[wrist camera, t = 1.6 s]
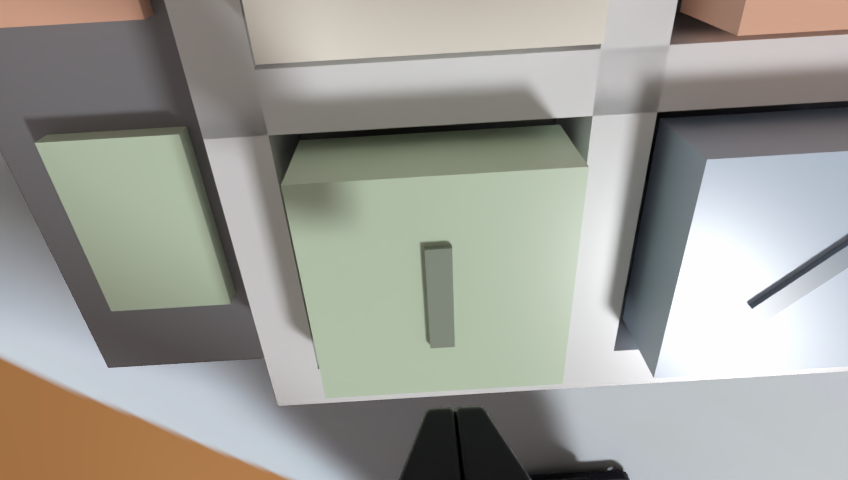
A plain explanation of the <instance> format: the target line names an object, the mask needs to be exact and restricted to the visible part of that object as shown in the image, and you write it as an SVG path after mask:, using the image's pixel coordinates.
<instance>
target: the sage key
mask: <svg viewBox="0 0 848 480" xmlns="http://www.w3.org/2000/svg"><path fill="white" fill-rule="evenodd" d="M588 170H589V166H588V165H587V163H586V162H585V160H584V159H583V157H582V156H581V154H580V153H579V152H578V150H577V149H576V147H575V146H574V144H573V143H572V141H571V140H570V138H569V137H568V135H567V134H566V133H565V131H564V130H563V128H562V127H561V125H545V126H528V127H511V128H495V129H478V130H462V131H445V132H428V133H412V134H395V135H378V136H362V137H345V138H329V139H312V140H299V143H298V145H297V148H296V150H295V152H294V155H293V157H292V160H291V162H290V164H289V167H288V169H287V172H286V174H285V177H284V179H283V181H282V184H281V188H282V193H283V198H284V203H285V207H286V212H287V217H288V222H289V226H290V231H291V236H292V241H293V245H294V250H295V255H296V260H297V264H298V269H299V274H300V279H301V283H302V288H303V293H304V298H305V302H306V307H307V312H308V316H309V321H310V326H311V331H312V335H313V340H314V345H315V350H316V354H317V359H318V364H319V369H320V373H321V378H322V383H323V388H324V392H325V397H326V398H341V397H357V396H373V395H390V394H406V393H422V392H439V391H455V390H471V389H488V388H504V387H520V386H537V385H553V384H563V377H564V369H565V361H566V352H567V344H568V336H569V328H570V319H571V311H572V303H573V294H574V286H575V278H576V270H577V261H578V253H579V245H580V236H581V228H582V220H583V212H584V203H585V195H586V187H587V178H588Z"/></svg>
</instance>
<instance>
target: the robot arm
mask: <svg viewBox="0 0 848 480" xmlns="http://www.w3.org/2000/svg"><path fill="white" fill-rule="evenodd" d="M399 480H630V479H629V477H628V474H627V473H626V472H624V471H607V472H590V473H574V474H558V475H542V476H529V475H528V474H527V472H526V471H525V469H524V468H523V466H522V465H521V463H520V462H519V460H518V459H517V457H516V456H515V454H514V453H513V451H512V450H511V448H510V447H509V445H508V444H507V442H506V440H505V439H504V437H503V436H502V434H501V433H500V431H499V430H498V428H497V427H496V425H495V424H494V422H493V421H492V419H491V418H490V416H489V415H488V413H487V412H486V410H485V409H484V408H483V407H481V406H464V407H458V408H457V409H456V410H455V411H454V410H453V409H452V408H450V407H447V408H431V409H428V410H427V411H426V413H425V415H424V417H423V419H422V422H421V425H420V427H419V430H418V432H417V435H416V437H415V440H414V442H413V445H412V447H411V450H410V453H409V455H408V458H407V460H406V463H405V465H404V468H403V470H402V473H401V475H400V478H399Z"/></svg>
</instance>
